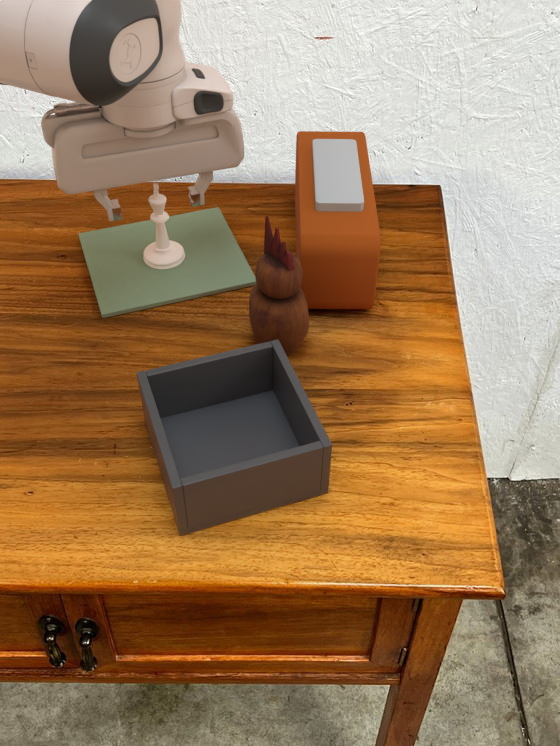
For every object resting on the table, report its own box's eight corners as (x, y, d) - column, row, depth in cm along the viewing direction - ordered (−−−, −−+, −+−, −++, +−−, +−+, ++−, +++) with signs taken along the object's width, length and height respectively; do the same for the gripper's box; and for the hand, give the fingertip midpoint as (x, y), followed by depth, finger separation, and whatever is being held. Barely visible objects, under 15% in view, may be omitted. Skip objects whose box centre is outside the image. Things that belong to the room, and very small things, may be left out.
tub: (179, 536, 66) (172, 488, 61) (145, 421, 75) (136, 372, 70) (328, 493, 69) (332, 444, 64) (278, 388, 78) (278, 338, 73)
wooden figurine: (243, 328, 84) (239, 210, 74) (294, 317, 86) (297, 201, 75) (261, 370, 80) (259, 252, 69) (314, 358, 81) (320, 240, 70)
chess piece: (186, 244, 94) (179, 170, 87) (184, 269, 90) (176, 195, 83) (145, 244, 94) (134, 171, 87) (141, 270, 90) (130, 195, 83)
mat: (102, 318, 85) (101, 314, 85) (78, 237, 96) (77, 233, 95) (257, 285, 90) (257, 281, 89) (218, 210, 100) (218, 206, 100)
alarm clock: (372, 317, 86) (383, 231, 78) (297, 316, 86) (300, 231, 78) (357, 196, 103) (365, 116, 94) (294, 196, 102) (296, 115, 94)
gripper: (41, 121, 73) (67, 243, 83) (248, 92, 78) (249, 209, 88) (33, 93, 77) (58, 211, 87) (230, 66, 82) (233, 181, 92)
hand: (156, 210), depth 87 cm, fingers open, 8 cm apart
